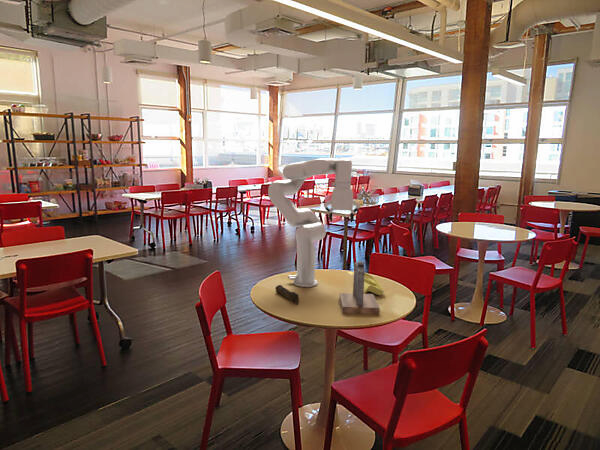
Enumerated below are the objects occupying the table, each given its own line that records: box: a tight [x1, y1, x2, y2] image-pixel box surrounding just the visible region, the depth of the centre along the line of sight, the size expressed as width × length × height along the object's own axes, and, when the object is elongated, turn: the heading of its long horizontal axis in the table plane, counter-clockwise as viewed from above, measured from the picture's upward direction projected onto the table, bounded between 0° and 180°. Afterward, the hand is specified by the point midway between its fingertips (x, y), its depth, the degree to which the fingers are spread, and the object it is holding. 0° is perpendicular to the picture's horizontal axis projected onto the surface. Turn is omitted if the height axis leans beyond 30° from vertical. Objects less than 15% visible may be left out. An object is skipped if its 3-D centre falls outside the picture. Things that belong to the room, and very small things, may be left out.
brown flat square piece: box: [338, 292, 380, 315], centre depth 187 cm, size 16×17×3 cm
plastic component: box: [364, 272, 385, 296], centre depth 210 cm, size 20×7×10 cm
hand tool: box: [275, 284, 300, 305], centre depth 195 cm, size 19×4×5 cm, turn 28°
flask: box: [352, 261, 366, 306], centre depth 186 cm, size 4×14×18 cm, turn 0°
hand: (341, 221), depth 197 cm, fingers open, 9 cm apart
